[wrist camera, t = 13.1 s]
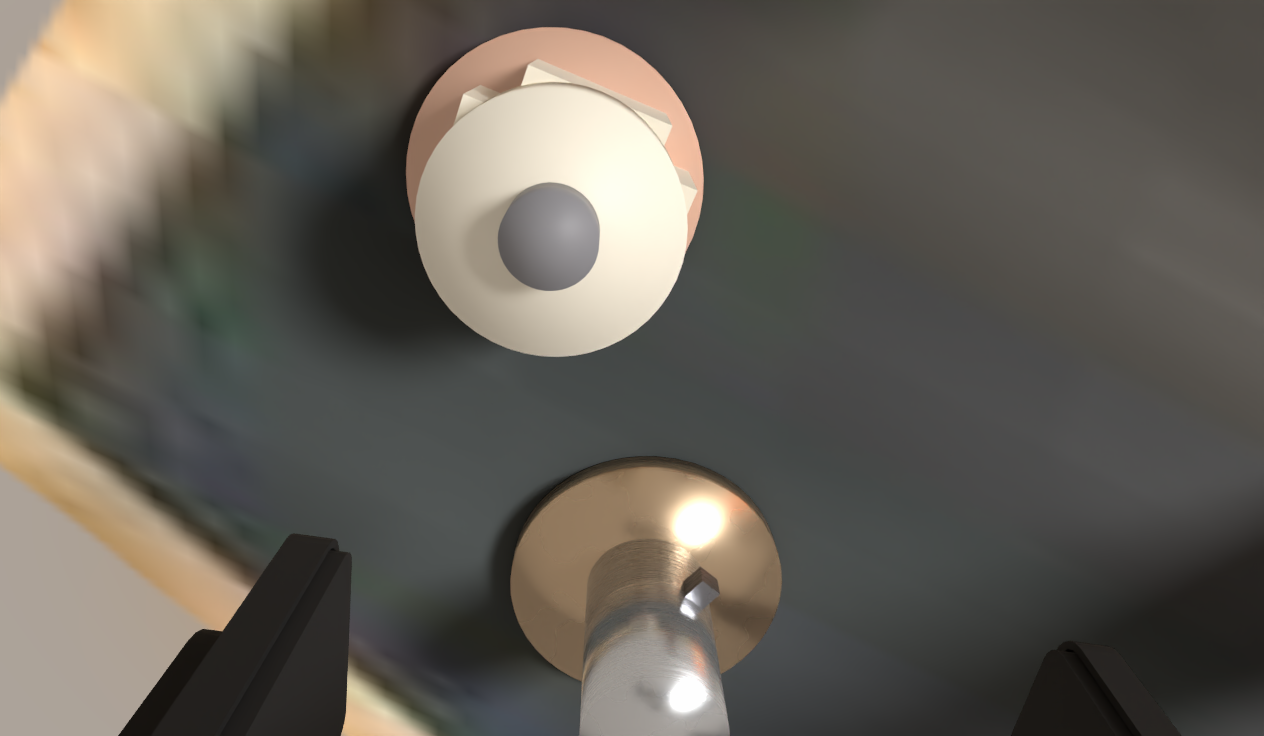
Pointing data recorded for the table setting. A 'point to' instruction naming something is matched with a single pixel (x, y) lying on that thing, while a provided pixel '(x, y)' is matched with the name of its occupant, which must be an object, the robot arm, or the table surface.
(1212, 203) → the table surface
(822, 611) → the table surface
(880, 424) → the table surface
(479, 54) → the coaster
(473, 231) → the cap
